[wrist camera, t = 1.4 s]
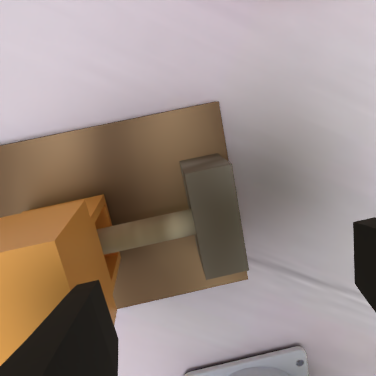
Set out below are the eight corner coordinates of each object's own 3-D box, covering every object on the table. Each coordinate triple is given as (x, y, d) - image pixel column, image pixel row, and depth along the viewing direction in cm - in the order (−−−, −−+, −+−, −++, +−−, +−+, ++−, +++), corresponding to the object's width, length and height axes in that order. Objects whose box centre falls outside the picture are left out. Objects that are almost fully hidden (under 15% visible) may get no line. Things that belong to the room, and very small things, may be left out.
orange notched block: (99, 179, 16) (54, 240, 9) (124, 270, 17) (102, 387, 10) (17, 196, 16) (-96, 273, 9) (49, 286, 17) (-28, 418, 10)
